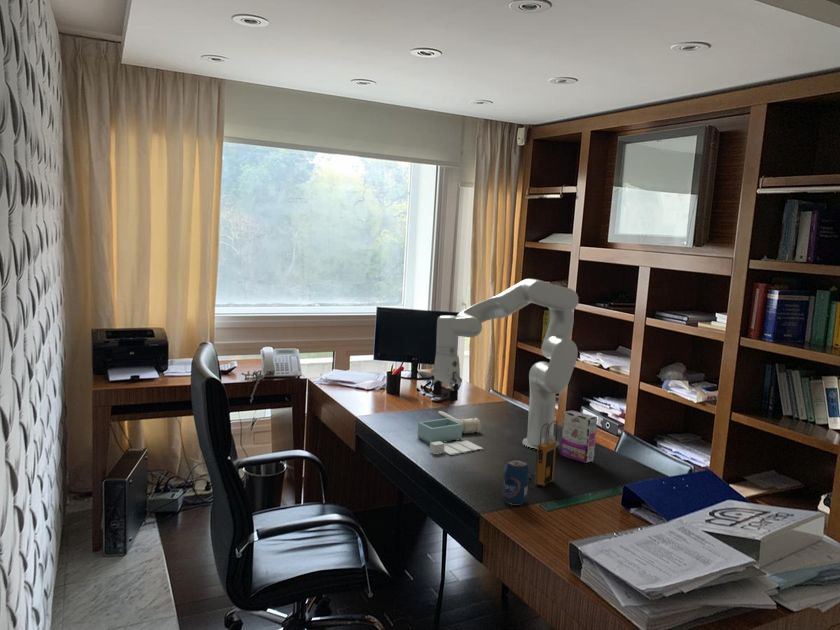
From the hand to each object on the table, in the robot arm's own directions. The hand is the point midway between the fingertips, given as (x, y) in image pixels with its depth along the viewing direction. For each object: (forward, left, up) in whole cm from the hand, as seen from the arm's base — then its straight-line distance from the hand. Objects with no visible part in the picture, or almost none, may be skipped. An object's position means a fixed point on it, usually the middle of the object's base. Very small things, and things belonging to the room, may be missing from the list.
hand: (445, 397), depth 224 cm
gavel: (+25, -23, -20) cm, 39 cm away
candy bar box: (-29, -38, -19) cm, 51 cm away
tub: (+11, -6, -19) cm, 23 cm away
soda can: (-47, +7, -19) cm, 51 cm away
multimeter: (-37, -10, -19) cm, 43 cm away
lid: (-2, -4, -19) cm, 20 cm away
